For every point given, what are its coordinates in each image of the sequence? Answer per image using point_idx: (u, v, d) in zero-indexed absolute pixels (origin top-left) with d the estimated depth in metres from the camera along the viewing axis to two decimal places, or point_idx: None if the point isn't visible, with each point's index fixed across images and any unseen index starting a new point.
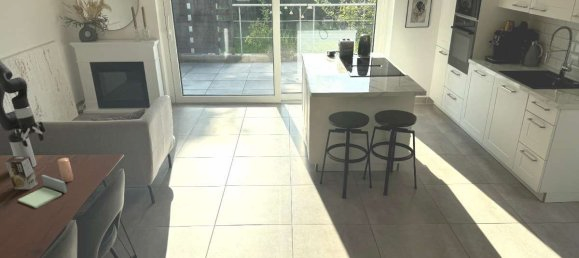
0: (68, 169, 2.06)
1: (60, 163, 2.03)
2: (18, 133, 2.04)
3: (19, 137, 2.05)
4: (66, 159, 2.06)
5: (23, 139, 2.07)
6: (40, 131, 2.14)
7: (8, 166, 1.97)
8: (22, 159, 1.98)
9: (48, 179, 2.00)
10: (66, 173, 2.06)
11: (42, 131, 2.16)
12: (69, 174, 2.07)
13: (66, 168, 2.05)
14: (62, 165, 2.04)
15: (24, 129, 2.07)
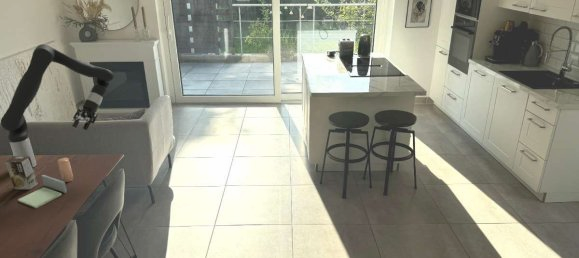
0: (68, 169, 2.06)
1: (60, 163, 2.03)
2: None
3: None
4: (66, 159, 2.06)
5: None
6: (80, 119, 2.17)
7: (8, 166, 1.97)
8: (22, 159, 1.98)
9: (48, 179, 2.00)
10: (66, 173, 2.06)
11: None
12: (69, 174, 2.07)
13: (66, 168, 2.05)
14: (62, 165, 2.04)
15: None
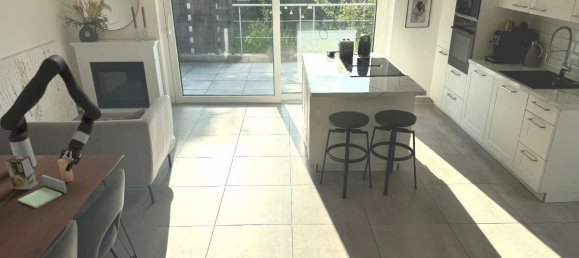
0: None
1: (60, 163, 2.03)
2: None
3: None
4: (66, 159, 2.06)
5: None
6: None
7: (8, 166, 1.97)
8: (22, 159, 1.98)
9: (48, 179, 2.00)
10: (66, 173, 2.06)
11: None
12: (69, 174, 2.07)
13: None
14: (62, 165, 2.04)
15: None
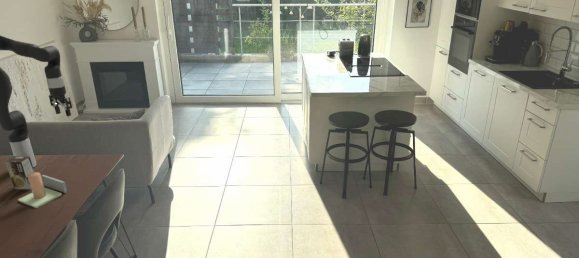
0: (39, 185, 1.90)
1: (30, 178, 1.87)
2: None
3: None
4: (37, 174, 1.89)
5: None
6: None
7: (8, 166, 1.97)
8: (22, 159, 1.98)
9: (48, 179, 2.00)
10: (37, 189, 1.89)
11: None
12: (41, 190, 1.91)
13: (37, 183, 1.89)
14: (32, 181, 1.87)
15: None
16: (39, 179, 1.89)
